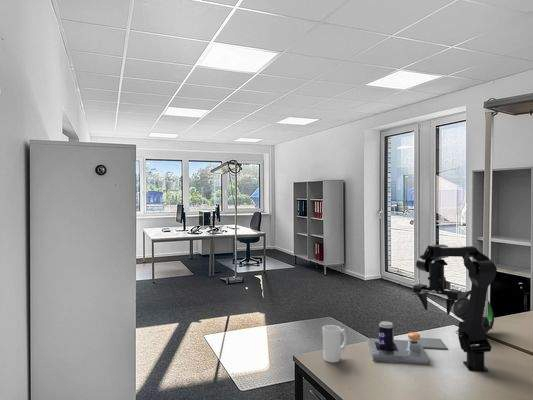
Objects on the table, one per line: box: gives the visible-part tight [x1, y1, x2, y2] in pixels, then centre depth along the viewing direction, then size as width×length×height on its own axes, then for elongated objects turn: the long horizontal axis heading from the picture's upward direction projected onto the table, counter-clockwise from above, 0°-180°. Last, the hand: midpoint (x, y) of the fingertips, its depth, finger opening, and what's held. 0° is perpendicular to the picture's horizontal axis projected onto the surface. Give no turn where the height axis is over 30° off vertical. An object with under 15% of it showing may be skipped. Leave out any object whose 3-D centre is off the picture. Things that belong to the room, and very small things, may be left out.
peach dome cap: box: [407, 331, 421, 342], centre depth 147 cm, size 4×4×3 cm
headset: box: [452, 289, 495, 335], centre depth 166 cm, size 18×14×29 cm
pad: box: [418, 337, 449, 351], centre depth 157 cm, size 10×10×1 cm
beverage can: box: [378, 320, 395, 351], centre depth 149 cm, size 6×6×12 cm
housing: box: [368, 337, 430, 365], centre depth 148 cm, size 16×20×5 cm
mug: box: [322, 324, 348, 364], centre depth 144 cm, size 10×7×12 cm, turn 109°
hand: (437, 312), depth 157 cm, fingers open, 9 cm apart
